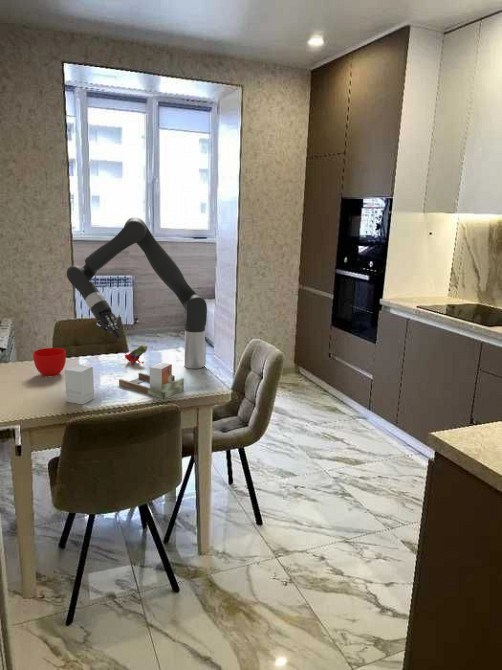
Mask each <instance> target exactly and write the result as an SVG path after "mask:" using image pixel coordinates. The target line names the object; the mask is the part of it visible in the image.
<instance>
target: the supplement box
mask: <svg viewBox="0 0 502 670" xmlns="http://www.w3.org/2000/svg"><path fill="white" fill-rule="evenodd" d="M64 376H65V377H64V378H65V379H64V381H65V394H66V395H65V396H66V399H65V400H66V402H67V403H73V404H79V405H85V404H86V403H88V402H90V401H92V400H94V399H95V385H94V367H93V366H91V365H84V364H83V365H82V364H74V365H72V366H70V367H68V368H65V369H64Z"/></svg>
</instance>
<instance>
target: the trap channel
mask: <svg viewBox="0 0 502 670" xmlns="http://www.w3.org/2000/svg"><path fill="white" fill-rule="evenodd" d="M144 382H149V383H150V374H148V373H143V372H138V377H136V378H135V379H132V380H125V379H121V378H120V379H118V386H120V387H123V388H126V389H129V390H133V391H135V392H140V393H143V394H146V395H149V396H153V397H157V398H159V399H166V398H168V397H171V396H173V395H175V394H178V393H181V392H184V389H185V387H184V386H185V385H184V384H185V383H184V382H185V380H184V378H183V377H181V378H179V379H178V378H177V379H176V380H175V375H174V374H172V382H170V383H167V384H165V385H162V386H161V391H160V390H157V389H153V388H150V386H146V385H142V384H141V383H144Z"/></svg>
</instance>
